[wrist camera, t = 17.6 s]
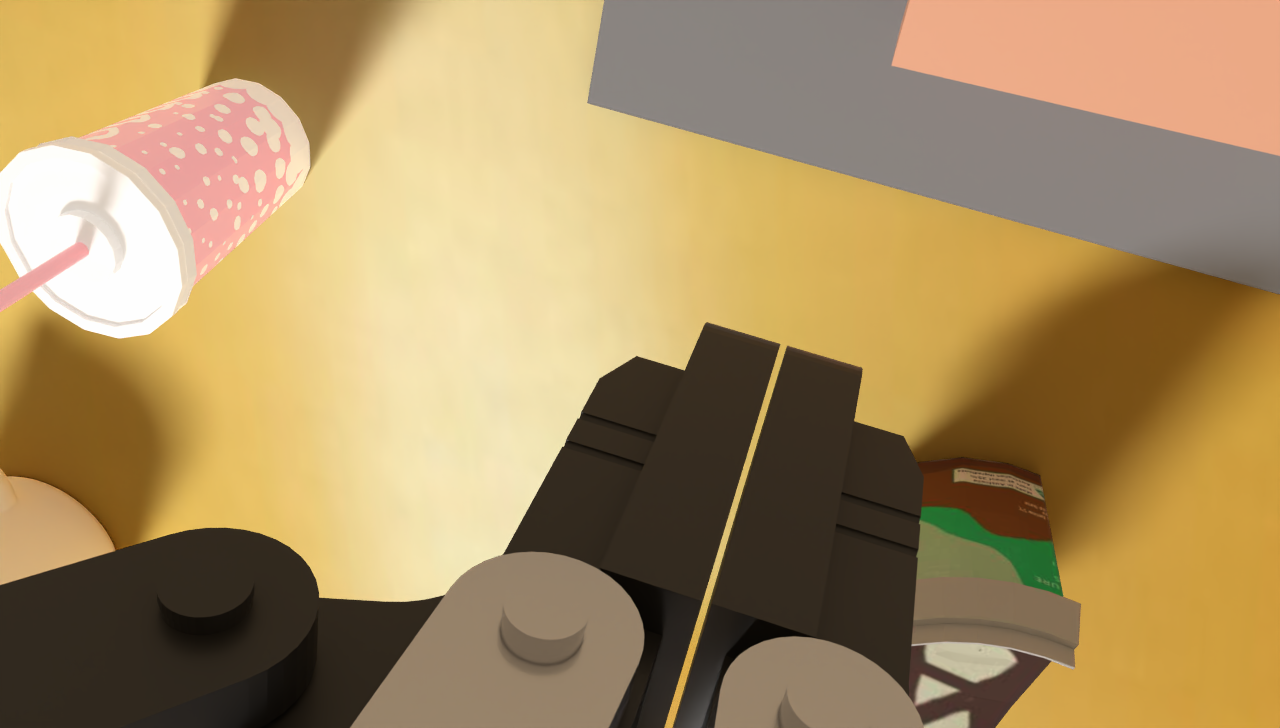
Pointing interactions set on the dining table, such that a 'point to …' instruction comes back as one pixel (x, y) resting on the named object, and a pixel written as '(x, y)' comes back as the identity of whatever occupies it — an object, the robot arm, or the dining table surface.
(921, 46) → the block
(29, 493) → the mug
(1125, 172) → the mat
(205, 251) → the beverage cup
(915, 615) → the food container
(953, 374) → the dining table surface
